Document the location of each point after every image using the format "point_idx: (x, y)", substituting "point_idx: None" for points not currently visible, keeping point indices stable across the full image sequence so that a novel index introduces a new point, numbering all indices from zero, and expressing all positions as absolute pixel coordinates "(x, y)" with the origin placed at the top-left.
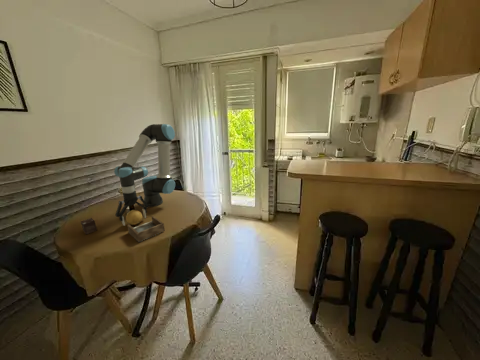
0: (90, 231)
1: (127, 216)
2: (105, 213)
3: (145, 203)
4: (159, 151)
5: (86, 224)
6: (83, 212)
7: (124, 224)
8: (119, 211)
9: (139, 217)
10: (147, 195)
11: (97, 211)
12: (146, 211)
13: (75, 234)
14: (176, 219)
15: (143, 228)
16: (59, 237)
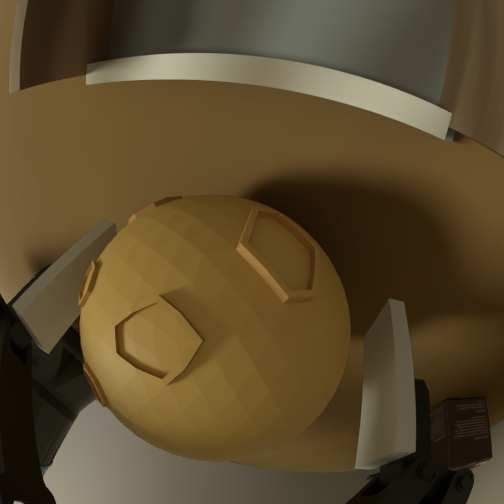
0: (472, 405)
1: (318, 412)
2: (279, 449)
3: None
4: None
5: (483, 453)
6: (314, 471)
7: (397, 314)
8: None
9: (146, 227)
10: (56, 403)
11: (285, 461)
12: (37, 277)
13: None
14: (6, 27)
15: (260, 9)
16: (493, 425)
